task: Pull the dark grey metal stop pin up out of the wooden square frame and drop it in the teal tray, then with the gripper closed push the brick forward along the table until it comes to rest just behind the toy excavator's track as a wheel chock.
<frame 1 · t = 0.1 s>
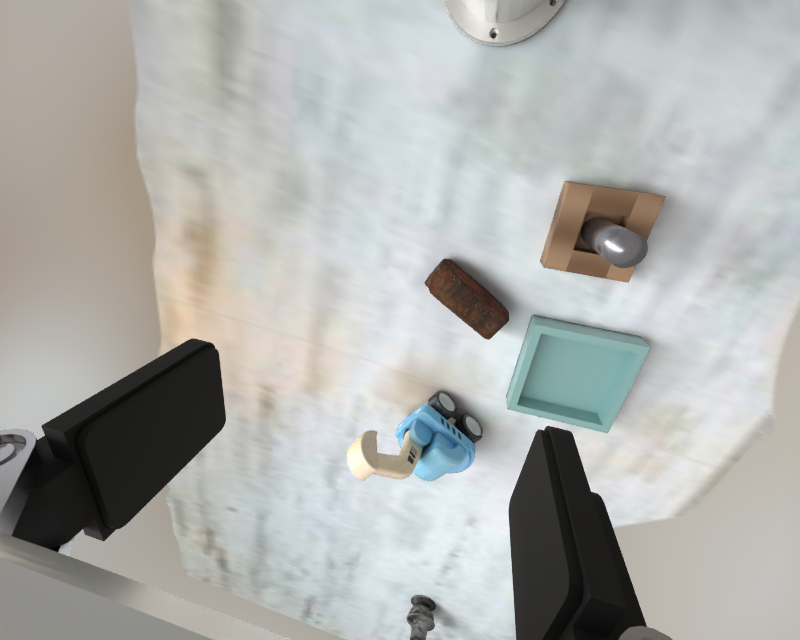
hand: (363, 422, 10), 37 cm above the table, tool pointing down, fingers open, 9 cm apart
toy excavator: (429, 407, 55), on the table
wooden square frame: (592, 229, 40), on the table
pin: (595, 231, 39), point 1 cm above the table, touching wooden square frame
salt shaker: (423, 602, 76), on the table
tray: (567, 368, 47), on the table
brick: (467, 291, 46), on the table
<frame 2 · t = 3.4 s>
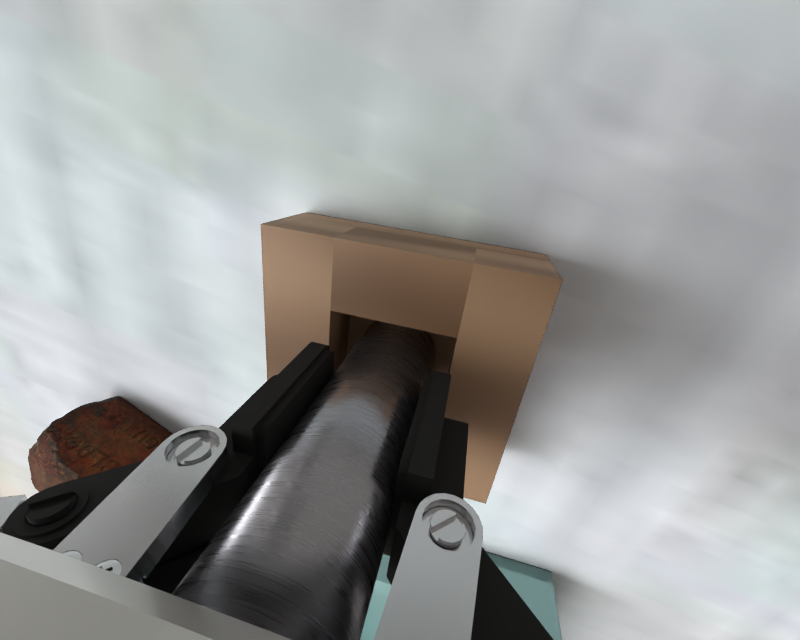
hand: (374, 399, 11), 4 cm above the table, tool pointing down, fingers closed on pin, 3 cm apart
wooden square frame: (403, 339, 15), on the table
pin: (398, 350, 14), point 1 cm above the table, touching gripper, wooden square frame
tray: (412, 600, 22), on the table
brick: (180, 453, 22), on the table
when the fingers open (6 cm above the table, at t = 8.1 s): pin drops 2 cm, resting on tray.
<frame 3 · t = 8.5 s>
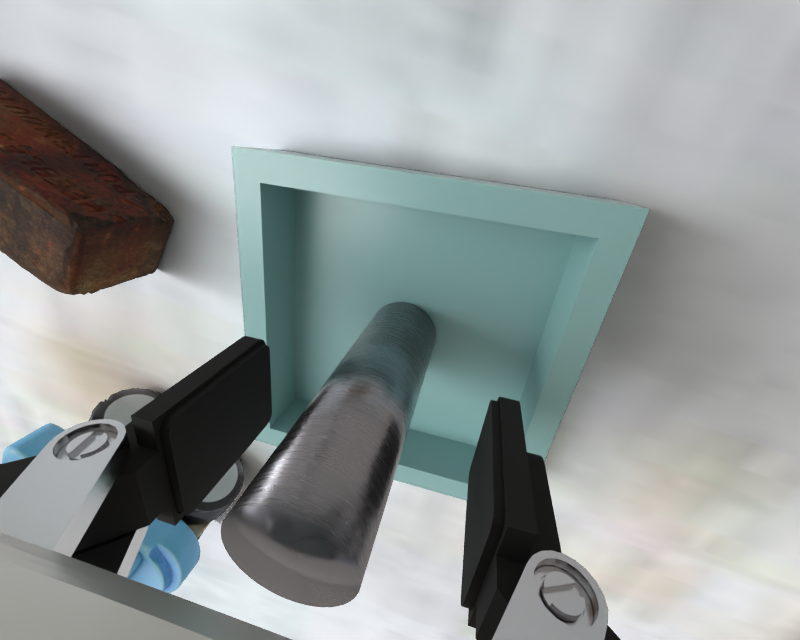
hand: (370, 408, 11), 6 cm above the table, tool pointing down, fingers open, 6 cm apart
toy excavator: (146, 425, 24), on the table
pin: (403, 333, 16), point 1 cm above the table, touching tray
tray: (410, 324, 16), on the table
brick: (86, 176, 17), on the table
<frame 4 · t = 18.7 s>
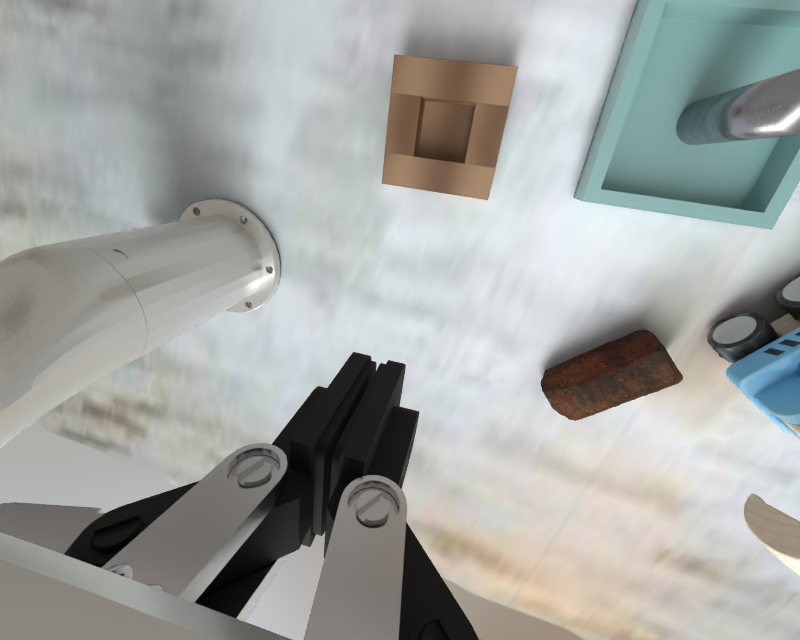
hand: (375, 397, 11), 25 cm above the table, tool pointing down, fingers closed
toy excavator: (746, 350, 32), on the table
wooden square frame: (447, 133, 30), on the table
pin: (700, 122, 25), point 1 cm above the table, touching tray
tray: (694, 119, 26), on the table
brick: (596, 363, 35), on the table
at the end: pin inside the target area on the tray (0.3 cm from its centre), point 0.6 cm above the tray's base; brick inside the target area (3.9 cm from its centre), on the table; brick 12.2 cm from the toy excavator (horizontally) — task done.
